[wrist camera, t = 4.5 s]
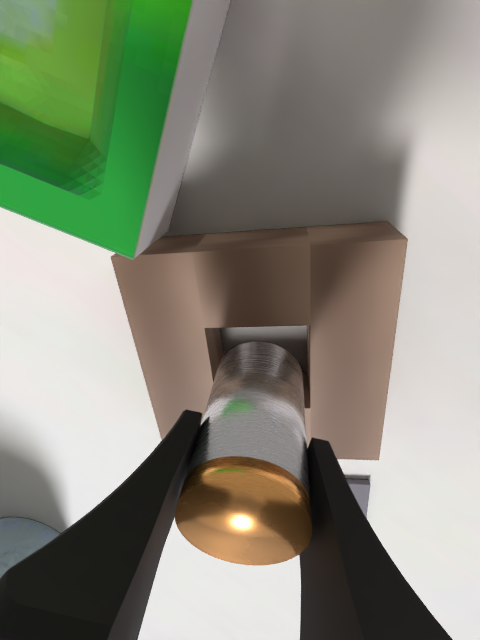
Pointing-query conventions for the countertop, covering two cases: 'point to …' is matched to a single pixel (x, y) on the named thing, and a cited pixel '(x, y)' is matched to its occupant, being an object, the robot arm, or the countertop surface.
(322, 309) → the housing
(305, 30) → the countertop surface
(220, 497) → the glass jar
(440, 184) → the countertop surface
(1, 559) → the grey cup
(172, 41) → the tray
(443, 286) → the countertop surface
